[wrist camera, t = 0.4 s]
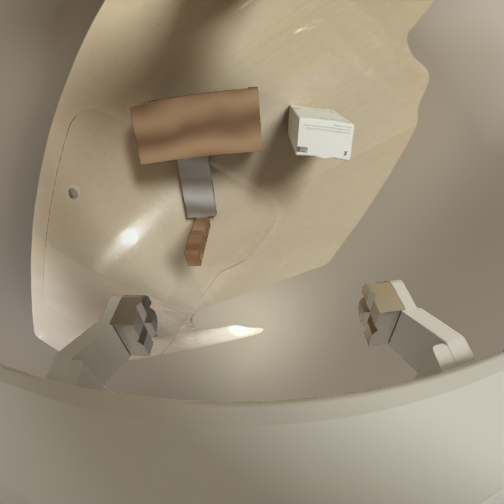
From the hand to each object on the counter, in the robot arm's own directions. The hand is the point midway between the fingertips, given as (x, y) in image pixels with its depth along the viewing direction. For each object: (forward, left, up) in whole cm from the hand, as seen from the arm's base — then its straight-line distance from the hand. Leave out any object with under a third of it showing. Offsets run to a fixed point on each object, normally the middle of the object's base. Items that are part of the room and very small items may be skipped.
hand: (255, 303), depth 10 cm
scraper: (+14, -12, -46) cm, 49 cm away
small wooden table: (-1, -9, -46) cm, 47 cm away
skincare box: (+1, +10, -46) cm, 47 cm away
